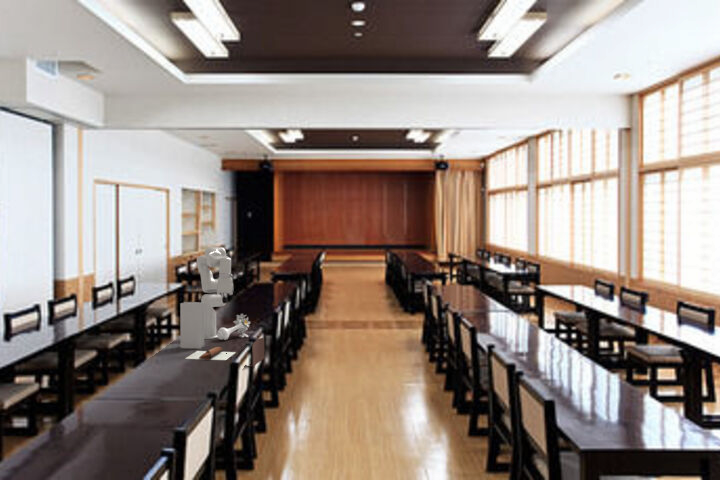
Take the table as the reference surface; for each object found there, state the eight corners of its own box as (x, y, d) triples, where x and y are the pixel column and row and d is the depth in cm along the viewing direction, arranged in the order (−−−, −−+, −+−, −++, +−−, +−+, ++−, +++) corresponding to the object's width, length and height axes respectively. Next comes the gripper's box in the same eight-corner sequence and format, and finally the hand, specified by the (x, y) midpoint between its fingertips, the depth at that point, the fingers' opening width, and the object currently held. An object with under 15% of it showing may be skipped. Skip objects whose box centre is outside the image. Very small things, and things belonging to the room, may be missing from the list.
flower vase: (226, 350, 393) (254, 336, 410) (223, 327, 386) (252, 314, 404) (215, 344, 401) (243, 331, 418) (212, 322, 394) (240, 309, 412)
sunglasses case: (209, 351, 360) (214, 342, 359) (218, 357, 359) (223, 348, 359) (198, 358, 342) (203, 349, 342) (207, 364, 342) (212, 355, 341)
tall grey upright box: (204, 346, 375) (204, 302, 374) (201, 348, 369) (201, 303, 368) (183, 346, 376) (183, 301, 375) (180, 348, 371) (180, 303, 369)
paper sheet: (197, 351, 363) (197, 350, 363) (236, 352, 361) (236, 352, 361) (184, 358, 343) (184, 358, 343) (225, 360, 341) (225, 360, 341)
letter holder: (264, 358, 346) (264, 336, 346) (253, 367, 327) (253, 343, 326) (249, 357, 348) (249, 335, 347) (237, 366, 328) (237, 342, 328)
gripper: (237, 275, 374) (237, 302, 375) (216, 274, 376) (216, 301, 377) (234, 277, 367) (233, 304, 368) (212, 276, 368) (211, 303, 369)
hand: (224, 303), depth 372 cm, fingers closed
